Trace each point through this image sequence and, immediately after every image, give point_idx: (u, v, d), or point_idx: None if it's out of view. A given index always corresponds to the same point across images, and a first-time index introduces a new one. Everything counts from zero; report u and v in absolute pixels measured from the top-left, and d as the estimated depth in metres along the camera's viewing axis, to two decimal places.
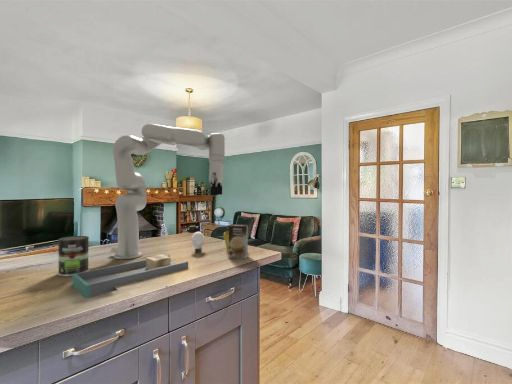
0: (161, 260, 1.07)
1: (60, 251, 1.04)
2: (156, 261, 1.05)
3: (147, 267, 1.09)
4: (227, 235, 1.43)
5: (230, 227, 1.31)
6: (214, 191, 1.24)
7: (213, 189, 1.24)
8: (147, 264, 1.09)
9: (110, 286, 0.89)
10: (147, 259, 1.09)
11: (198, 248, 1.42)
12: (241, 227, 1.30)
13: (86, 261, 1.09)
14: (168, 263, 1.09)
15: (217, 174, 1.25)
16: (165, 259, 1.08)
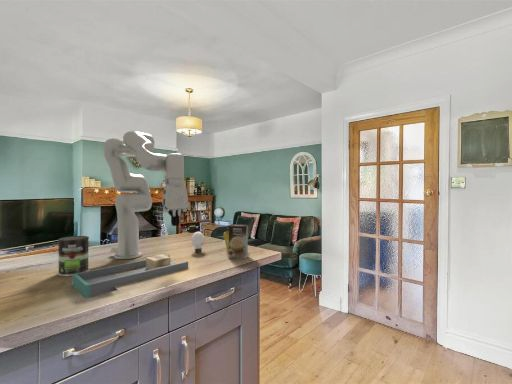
0: (161, 260, 1.07)
1: (60, 251, 1.04)
2: (156, 261, 1.05)
3: (147, 267, 1.09)
4: (227, 235, 1.43)
5: (230, 227, 1.31)
6: None
7: None
8: (147, 264, 1.09)
9: (110, 286, 0.89)
10: (147, 259, 1.09)
11: (198, 248, 1.42)
12: (241, 227, 1.30)
13: (86, 261, 1.09)
14: (168, 263, 1.09)
15: None
16: (165, 259, 1.08)
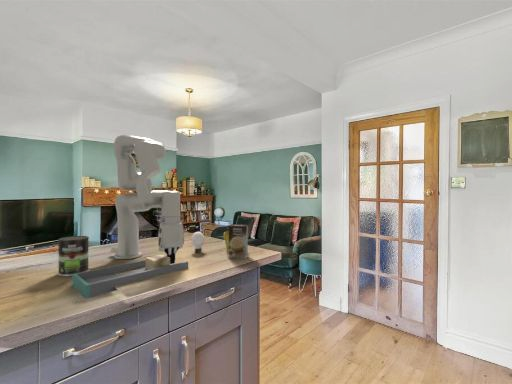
0: (160, 260, 1.07)
1: (60, 251, 1.04)
2: (155, 261, 1.05)
3: (147, 267, 1.09)
4: (227, 235, 1.43)
5: (230, 227, 1.31)
6: None
7: None
8: (147, 264, 1.09)
9: (110, 286, 0.89)
10: (147, 259, 1.08)
11: (198, 248, 1.42)
12: (241, 227, 1.30)
13: (86, 261, 1.09)
14: (168, 263, 1.09)
15: None
16: (165, 259, 1.08)
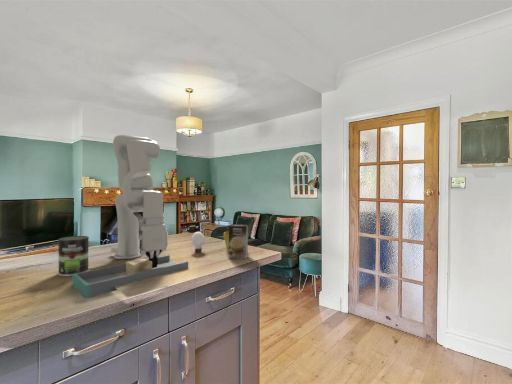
0: (142, 265, 1.01)
1: (60, 251, 1.04)
2: (136, 266, 0.99)
3: (127, 272, 1.02)
4: (227, 235, 1.43)
5: (230, 227, 1.31)
6: None
7: None
8: (127, 269, 1.02)
9: (110, 286, 0.89)
10: (127, 264, 1.02)
11: (198, 248, 1.42)
12: (241, 227, 1.30)
13: (86, 261, 1.09)
14: (149, 268, 1.03)
15: None
16: (146, 263, 1.02)
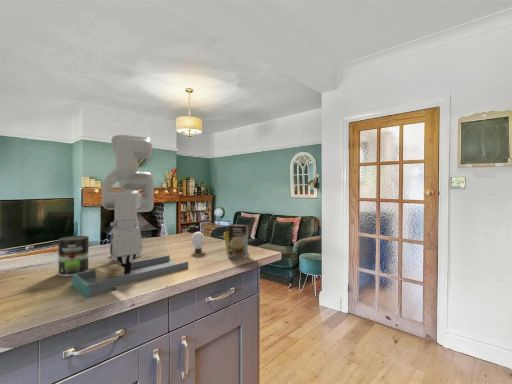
0: (112, 271, 0.93)
1: (60, 251, 1.04)
2: (106, 273, 0.91)
3: (96, 279, 0.94)
4: (227, 235, 1.43)
5: (230, 227, 1.31)
6: None
7: None
8: (96, 276, 0.94)
9: (110, 286, 0.89)
10: (96, 270, 0.94)
11: (198, 248, 1.42)
12: (241, 227, 1.30)
13: (86, 261, 1.09)
14: (121, 274, 0.95)
15: None
16: (117, 270, 0.94)
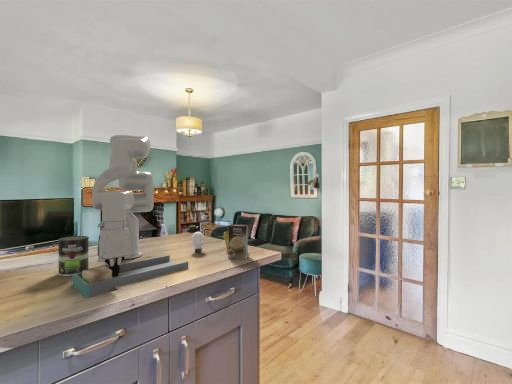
0: (99, 274, 0.90)
1: (60, 251, 1.04)
2: (92, 276, 0.88)
3: None
4: (227, 235, 1.43)
5: (230, 227, 1.31)
6: None
7: None
8: (83, 279, 0.91)
9: (110, 286, 0.89)
10: (83, 273, 0.91)
11: (198, 248, 1.42)
12: (241, 227, 1.30)
13: (86, 261, 1.09)
14: (109, 277, 0.92)
15: None
16: (105, 273, 0.91)
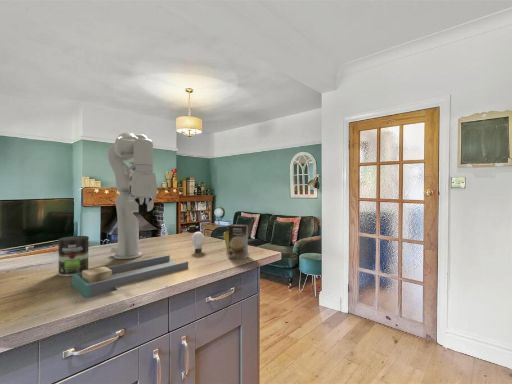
0: (99, 274, 0.90)
1: (60, 251, 1.04)
2: (92, 275, 0.88)
3: None
4: (227, 235, 1.43)
5: (230, 227, 1.31)
6: None
7: None
8: (83, 279, 0.91)
9: (110, 286, 0.89)
10: (83, 273, 0.91)
11: (198, 248, 1.42)
12: (241, 227, 1.30)
13: (86, 261, 1.09)
14: (109, 277, 0.92)
15: None
16: (105, 273, 0.91)
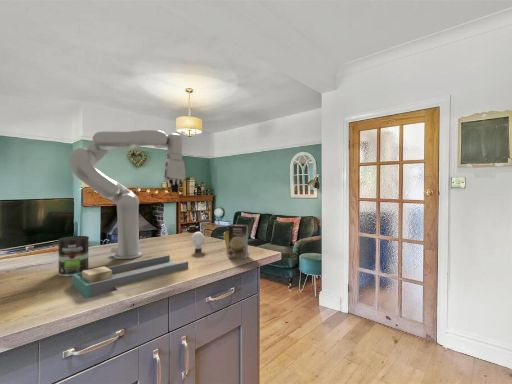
0: (99, 274, 0.90)
1: (60, 251, 1.04)
2: (92, 275, 0.88)
3: None
4: (227, 235, 1.43)
5: (230, 227, 1.31)
6: None
7: None
8: (83, 279, 0.91)
9: (110, 286, 0.89)
10: (83, 273, 0.91)
11: (198, 248, 1.42)
12: (241, 227, 1.30)
13: (86, 261, 1.09)
14: (109, 277, 0.92)
15: None
16: (105, 273, 0.91)
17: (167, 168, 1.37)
